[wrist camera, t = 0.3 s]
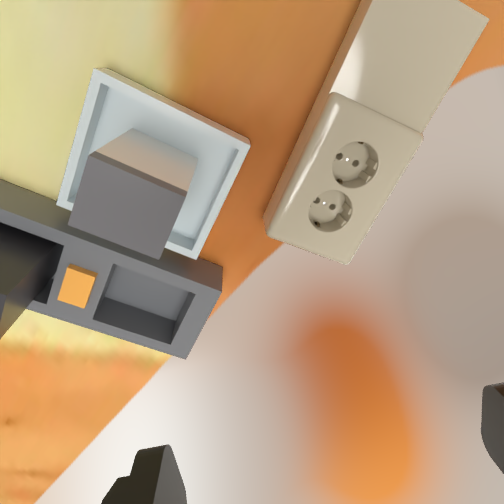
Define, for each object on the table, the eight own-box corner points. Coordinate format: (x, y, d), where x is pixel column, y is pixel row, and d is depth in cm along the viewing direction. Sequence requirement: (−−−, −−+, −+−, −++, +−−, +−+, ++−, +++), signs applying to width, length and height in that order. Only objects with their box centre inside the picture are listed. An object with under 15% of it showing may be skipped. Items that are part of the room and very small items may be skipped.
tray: (107, 68, 25) (93, 68, 22) (248, 138, 27) (250, 145, 25) (71, 192, 28) (56, 204, 26) (198, 244, 31) (196, 259, 28)
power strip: (-39, 251, 30) (-150, 327, 21) (-25, 169, 27) (-146, 217, 18) (190, 329, 35) (177, 417, 26) (222, 266, 32) (220, 341, 23)
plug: (132, 128, 26) (88, 155, 18) (198, 158, 27) (185, 197, 19) (115, 178, 27) (67, 224, 19) (178, 205, 28) (159, 260, 20)
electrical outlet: (499, 17, 21) (349, 268, 28) (460, 24, 25) (335, 245, 32) (397, -45, 20) (265, 237, 27) (371, -27, 23) (260, 217, 31)
